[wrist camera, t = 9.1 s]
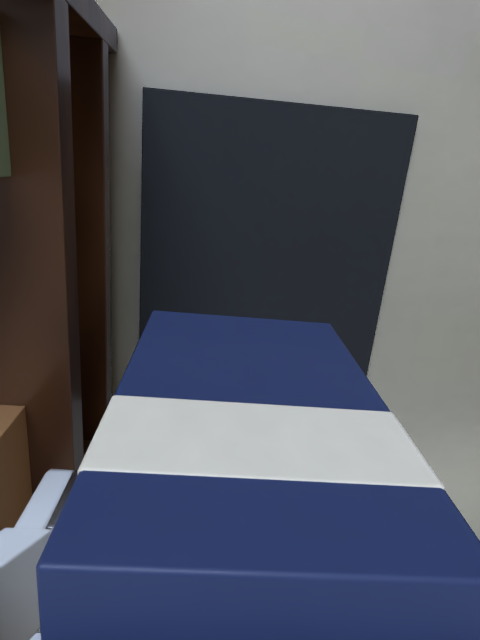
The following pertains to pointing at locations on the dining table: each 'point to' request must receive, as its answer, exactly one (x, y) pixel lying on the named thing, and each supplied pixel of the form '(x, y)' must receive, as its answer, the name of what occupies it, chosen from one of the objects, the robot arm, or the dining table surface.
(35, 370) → the shelf
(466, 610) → the tea box
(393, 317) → the dining table surface
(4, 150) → the sage box
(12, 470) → the kraft box
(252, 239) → the mat
